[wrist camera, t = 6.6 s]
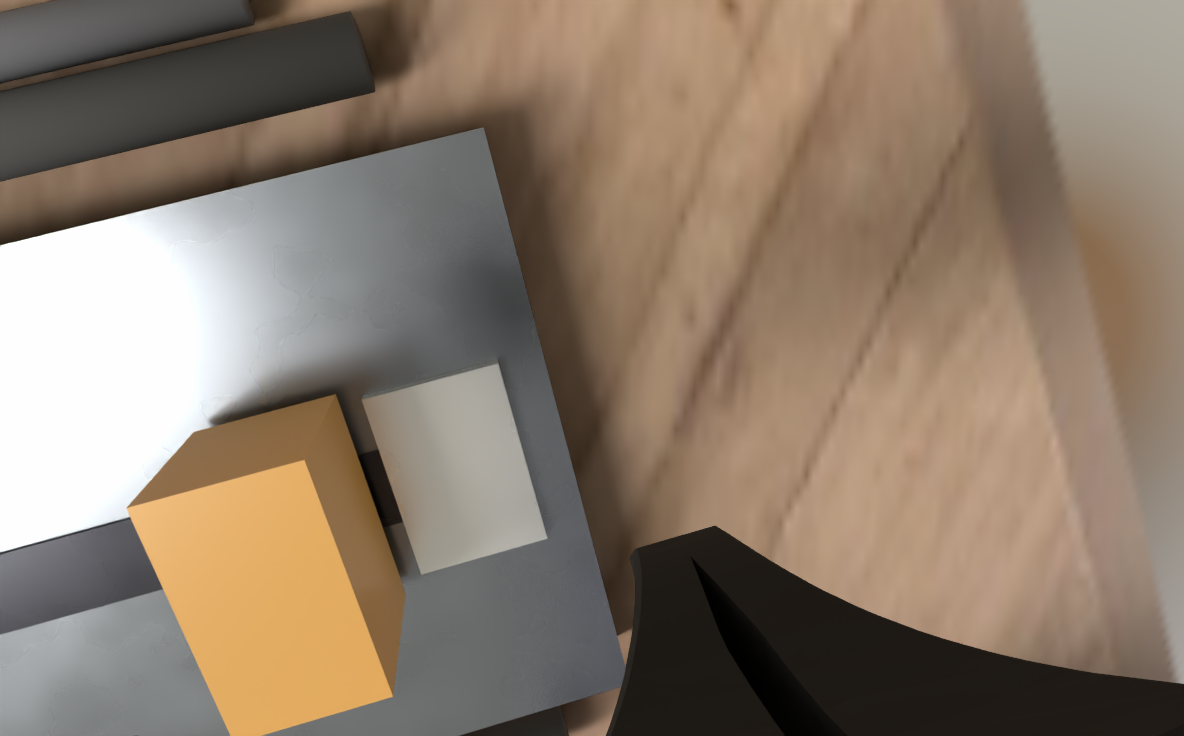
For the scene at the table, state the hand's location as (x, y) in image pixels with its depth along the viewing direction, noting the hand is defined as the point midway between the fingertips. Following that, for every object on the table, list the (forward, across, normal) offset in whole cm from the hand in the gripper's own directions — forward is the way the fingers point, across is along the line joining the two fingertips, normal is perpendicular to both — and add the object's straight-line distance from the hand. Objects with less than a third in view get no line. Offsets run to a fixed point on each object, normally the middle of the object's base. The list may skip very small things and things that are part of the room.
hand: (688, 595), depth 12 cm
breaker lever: (+7, +7, 0) cm, 10 cm away
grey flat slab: (+9, +11, 0) cm, 14 cm away
